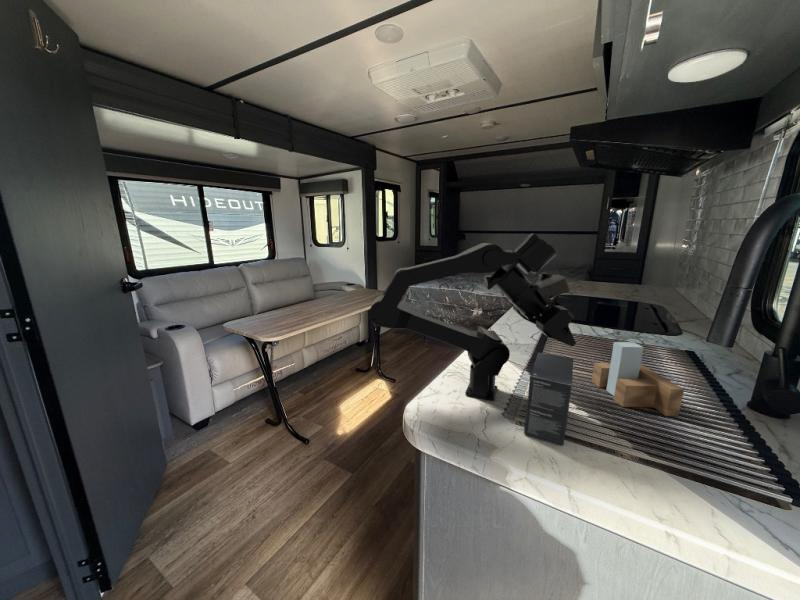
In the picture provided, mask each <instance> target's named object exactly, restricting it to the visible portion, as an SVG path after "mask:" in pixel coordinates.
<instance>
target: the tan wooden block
mask: <svg viewBox="0 0 800 600" xmlns="http://www.w3.org/2000/svg"><path fill="white" fill-rule="evenodd" d="M610 364H611V362H593V368H592V378H591V382H592V383H593V384H594V383H595V384H596V385H595V384H594V385H595V386H597V387H598V388H607V383H608V377H609V370H610ZM684 392H685V389H684V388H683V387H681V386H679V385H677V384H676V383H674V382H673V381H670V380H669V379H667V378H665V377H664V376H662V375H660V374H658V373H657V372H655V371H653V370H651V369H650V368H648V367H647V366H644V365H643V364H641V365H640V370H639V376H638V379H617V382H616V388H615V394H614V396H613V401H614V402H616V403H617V404H618V405H619V406H620V407H623V408H654V409H655V410H656V411H658V412H660V413H661V414H662V415H664V416H665V417H679V415H680V411H681V407H682V401H683V396H684Z"/></svg>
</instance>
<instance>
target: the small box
mask: <svg viewBox="0 0 800 600" xmlns="http://www.w3.org/2000/svg"><path fill="white" fill-rule="evenodd" d="M531 369H532V370H531V372H530V375H529V383H528V396H527V405H526V412H525V413H526V414H525V417H524V427H523V434H524V435H526V436H529V437H532V438H536V439H538V440H539V439H540V440H543V441H545V442H549V443H552V444H556V445H559V446H564V444H565V438H566V437H565V436H566V430H567V426H568V425H567V424H568V418H569V409H570V403H571V394H572V386H573V373H574V371H573V370H574V358H570V357H566V356H559V355H555V354H549V353H544V352H543V353H542V352H538V353H537V355H536V359H535V361H534V364H533V367H532V368H531Z"/></svg>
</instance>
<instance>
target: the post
mask: <svg viewBox="0 0 800 600" xmlns="http://www.w3.org/2000/svg"><path fill="white" fill-rule="evenodd" d="M644 348H645V347H644V346H642V345H641V344H638V343H637V342H634V341H633V342H627V341H625V342H624V341H623V342H622V341H620V342H619V341H617V342H615V341H614V342H613V346H612V352H611V359H610V363H611V364H610V370H609V377H608V383H607V387H606V391H607V392H608V393H609V394H611V395H612V396H613V397H614V394H615V388H616V382H617V379H638V376H639V370H640V365H642V359H643V353H644Z"/></svg>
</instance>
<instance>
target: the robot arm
mask: <svg viewBox="0 0 800 600" xmlns="http://www.w3.org/2000/svg"><path fill="white" fill-rule="evenodd" d="M556 256H557V252H556V250H555V249H554V247H553V245H551V244H550V243H547V241H545V240H544V239H542V238H540V237H539V236H538V234H536V233H530V234H528V235H527V236H526V238H525V239H524V241H522V243H520V244H519V245H518V246H517V247H516V248H515V249H514V250H511V249H505V250H503V248H501V247H500V246H499V245H497V244H494V243H487V242H484V243H483V242H482V243H478V244H477V245H475V246H472V247H470V248H468V249H466V250H464V251H462V252H461V253H458V254H456V255H453V256H448V257H445V258H440V259H437V260H433V261H429V262H425V263H421V264H417V265H413V266H407V267H400V268H398V269H397V270H396V271H395V273H394V275H393V278H392V279H391V281H390V282H389V284H388V286H387V287H386V289H385V290H384V292H383V294H381V295H379V296H377V297H376V298H375V299H374V300H373V303H372V304H371V306H370V308H369V312H368V313H369V314H368V315H369V319H370V320H371V323H372V324H373V325H375V326H377V327H381V328H385V329H392V330H409V331H411V332H413V333H417V334H419V335H422V336H426V337H428V338H431V339H434V340H436V341H440V342H442V343H445V344H447V345H450V346H453V347H456V348H459V349H462V350H465V351H466V352H467V356H468V359H469V361H470V362H471V365H469V366H470V368H469V384H468V386H467V387H466V391H465V392H464V393H465V396H469V397H473V398H477V399H478V398H479V399H483V400H487V401H488V400H489V401H495V399H496V396H497V392H498V386H497V385H496V377H497V376H499V374H500V372H501V370H502V369H503V366H504V365H505V364H507V363H508V361H509V359H510V355H511V354H510V353H511V352H510V350H509V347H508V346H507V345H506V343H505V342H504V341H503V339H502V338H501V337H500V336H499V335H498V334H497V332H496V331H495V330H489V329H486V328H484V327H483V326H481V325H479V326H478V327H477V330H475V331H474V330H473V331H471V330H467V329H465V328H462V327H459V326H455V325H454V324H450V323H447V322H445V321H442V320H439V319H436V318H434V317H431V316H428V315H425V314H422V313H420V312H417V311H414V310H412V309H411V308H409V307H408V306H407V305H405V304H404V303H403V302H401V300H402V299H403V297H404V295H405V293H406V292H407V290H408V289H409V287H411V286H415V285H420V284H423V283H429V282H432V281H435V280H440V279H443V278H449V277H452V276H457V275H460V274H461V275H462V274H484V273H485V274H486V273H491V274H490V275H484V276H483V279H484V280H483V281H484V282H483V287H484V288H485V289H487V290H489V291H490V290H491V289H493V287H494V286H495V287H497V289H498V290H499V291H500V292H501V293H502V294H504V296H505V297H506V299H507V300H508V301H509V302H510V303H511V304H512V310H513V311H514V312H515V313H516V314H517V315H519V316H520V317H521V318H522V319H524V320H525V321H526V322H529V323H532V324H534V325H535V327H536V328H537V330H539V332H541V333H542V334H543V335H545V336H546V338H549V339H552V340H554V341H558V342H560V343H563V344H565V345H567V346H570V347H574V346H575V345H576V344H577V342H576V340H575V337H574V335H573V333H572V331H571V329H570V326H569V325H570V323H571V322H572V320H574V319H575V315H573V313H572V312H571V311H570V310H569V309H567V308H565V307H564V306H561V305H552V306H551V307H549V306H550V305H551V304H552V303H553V302H554V301H553V299H552V298H556V297H558V296H560V295H563V294H567V293H570V291H571V288H570V286H569V283H568V279H567V277H566V276H565V275H561V274H552V275H550V274H549V273H547V272H542V273H539V274H538V277H537V281H536V283H534V284H533V282H531V281H530V280H529V279H528V278H527V277H526V276H525V275H524V274H526V275H529V274H530V273H532V274H534V275H535V274H537V273H538V272H539V271H540V270H541V269H543V268H544V267H545V266H546V265H547V264H549V262H551V260H553V259H554V258H555V257H556ZM519 269H520V270H519ZM522 272H523V273H524V274H523V273H522Z"/></svg>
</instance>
